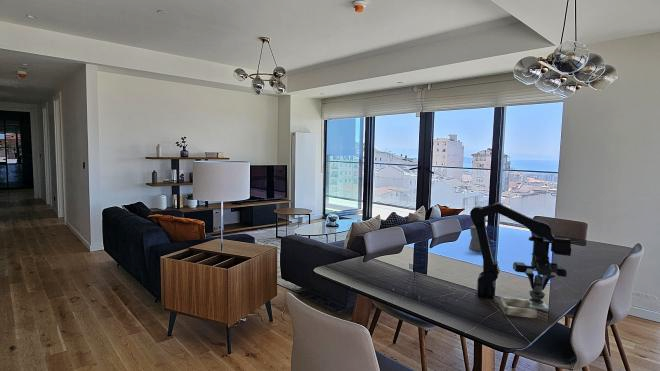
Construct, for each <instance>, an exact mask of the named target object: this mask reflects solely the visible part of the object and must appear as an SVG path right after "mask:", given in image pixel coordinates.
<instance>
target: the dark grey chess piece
mask: <svg viewBox="0 0 660 371" xmlns="http://www.w3.org/2000/svg"><path fill="white" fill-rule="evenodd" d="M542 277H543V275H539V274H538V273H537V274H534V287H533V289H531V290H528V293H529V296H530V297H531V298H529V299H528V300H529V301H531V302H533V303H537V304H543V303H545V302H544V301H543V299H544V298H545V296H546V293H545V292H543V290H542V285H543V284H542Z"/></svg>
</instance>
